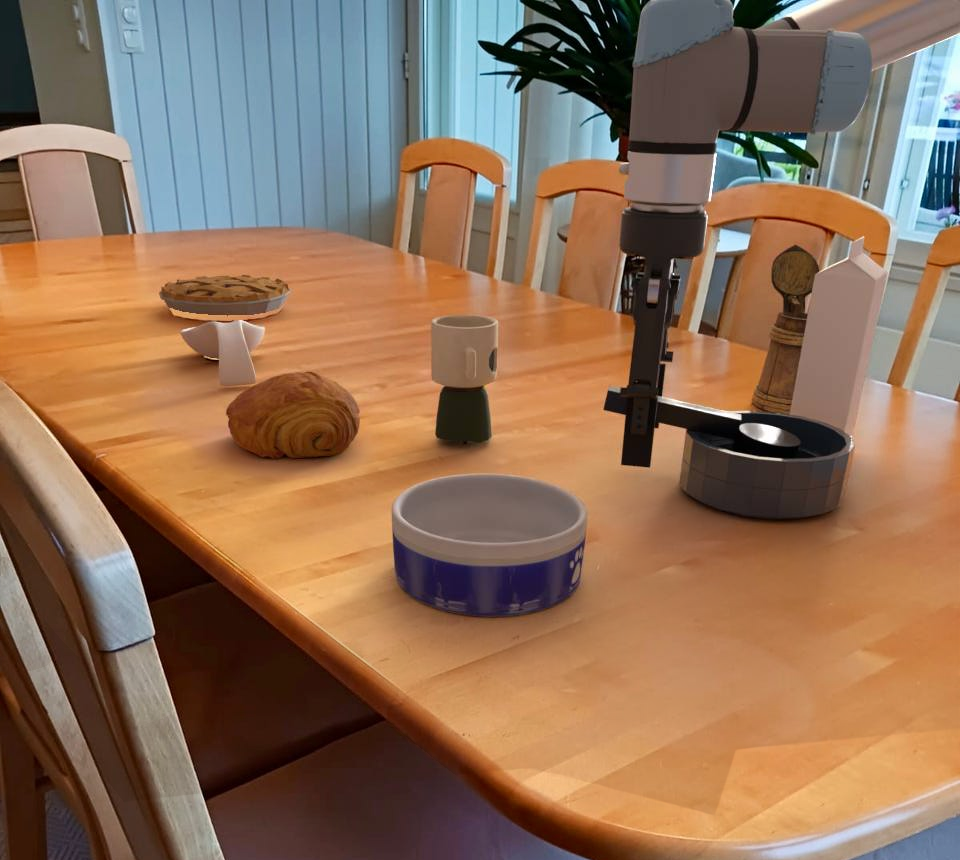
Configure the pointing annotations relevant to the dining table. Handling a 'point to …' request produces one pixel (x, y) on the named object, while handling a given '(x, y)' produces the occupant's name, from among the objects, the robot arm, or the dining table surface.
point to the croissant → (294, 417)
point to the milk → (839, 340)
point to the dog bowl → (488, 543)
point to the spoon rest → (227, 348)
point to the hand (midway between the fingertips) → (640, 445)
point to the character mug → (464, 375)
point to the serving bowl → (770, 470)
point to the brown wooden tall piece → (786, 330)
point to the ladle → (716, 426)
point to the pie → (225, 295)
